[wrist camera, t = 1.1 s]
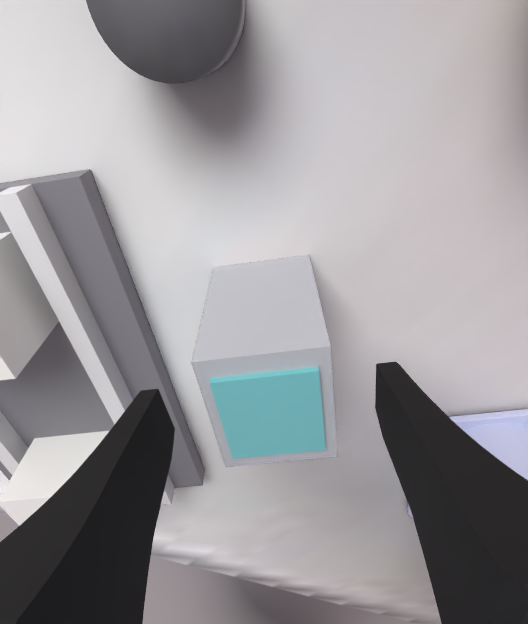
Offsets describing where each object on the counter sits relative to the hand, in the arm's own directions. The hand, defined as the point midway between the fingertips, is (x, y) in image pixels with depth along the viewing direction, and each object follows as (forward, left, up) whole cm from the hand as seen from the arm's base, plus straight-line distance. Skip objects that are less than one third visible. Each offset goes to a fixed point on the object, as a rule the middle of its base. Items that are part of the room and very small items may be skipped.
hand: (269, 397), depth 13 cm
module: (0, 0, -5) cm, 5 cm away
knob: (+11, +1, -5) cm, 12 cm away
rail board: (-2, +11, -5) cm, 12 cm away
